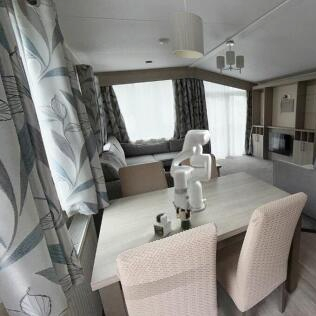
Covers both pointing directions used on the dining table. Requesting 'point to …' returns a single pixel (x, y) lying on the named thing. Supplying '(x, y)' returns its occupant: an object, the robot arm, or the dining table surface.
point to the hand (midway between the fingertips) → (183, 216)
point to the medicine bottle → (162, 225)
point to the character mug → (184, 218)
